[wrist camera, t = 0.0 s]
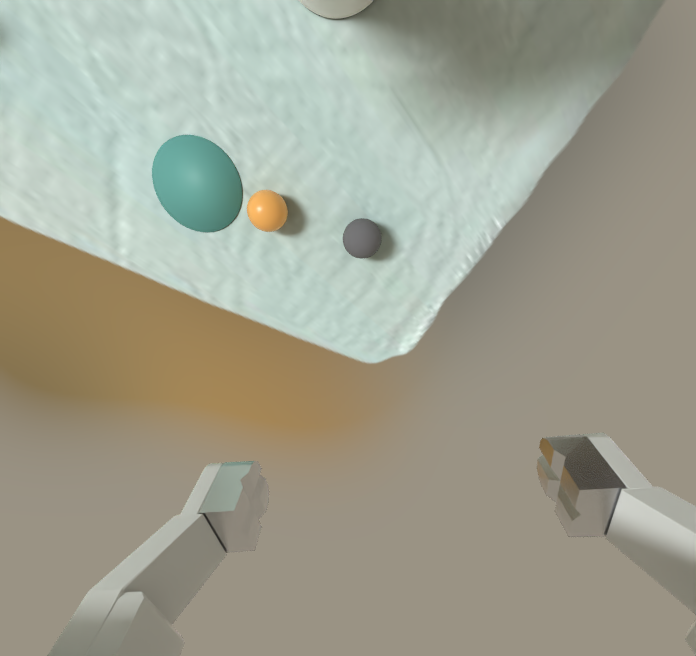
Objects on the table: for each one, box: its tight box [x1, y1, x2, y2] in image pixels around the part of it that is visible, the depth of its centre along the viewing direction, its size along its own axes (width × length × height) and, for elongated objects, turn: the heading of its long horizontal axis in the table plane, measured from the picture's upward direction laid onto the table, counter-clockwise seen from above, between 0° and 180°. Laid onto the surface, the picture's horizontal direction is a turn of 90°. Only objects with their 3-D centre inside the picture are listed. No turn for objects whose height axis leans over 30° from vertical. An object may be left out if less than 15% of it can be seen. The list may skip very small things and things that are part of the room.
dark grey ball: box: [343, 219, 381, 258], centre depth 51 cm, size 6×6×6 cm
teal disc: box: [152, 135, 242, 232], centre depth 51 cm, size 14×14×1 cm
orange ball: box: [247, 190, 288, 232], centre depth 50 cm, size 6×6×6 cm
